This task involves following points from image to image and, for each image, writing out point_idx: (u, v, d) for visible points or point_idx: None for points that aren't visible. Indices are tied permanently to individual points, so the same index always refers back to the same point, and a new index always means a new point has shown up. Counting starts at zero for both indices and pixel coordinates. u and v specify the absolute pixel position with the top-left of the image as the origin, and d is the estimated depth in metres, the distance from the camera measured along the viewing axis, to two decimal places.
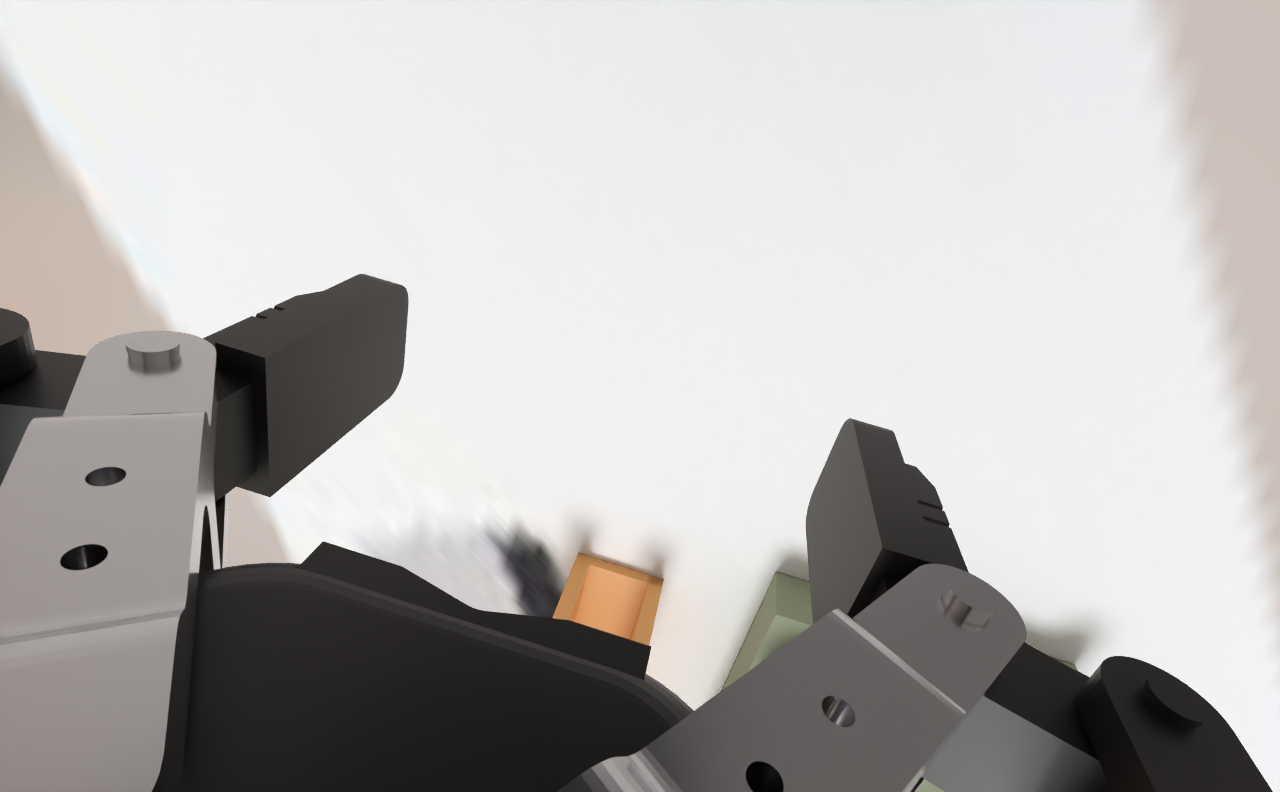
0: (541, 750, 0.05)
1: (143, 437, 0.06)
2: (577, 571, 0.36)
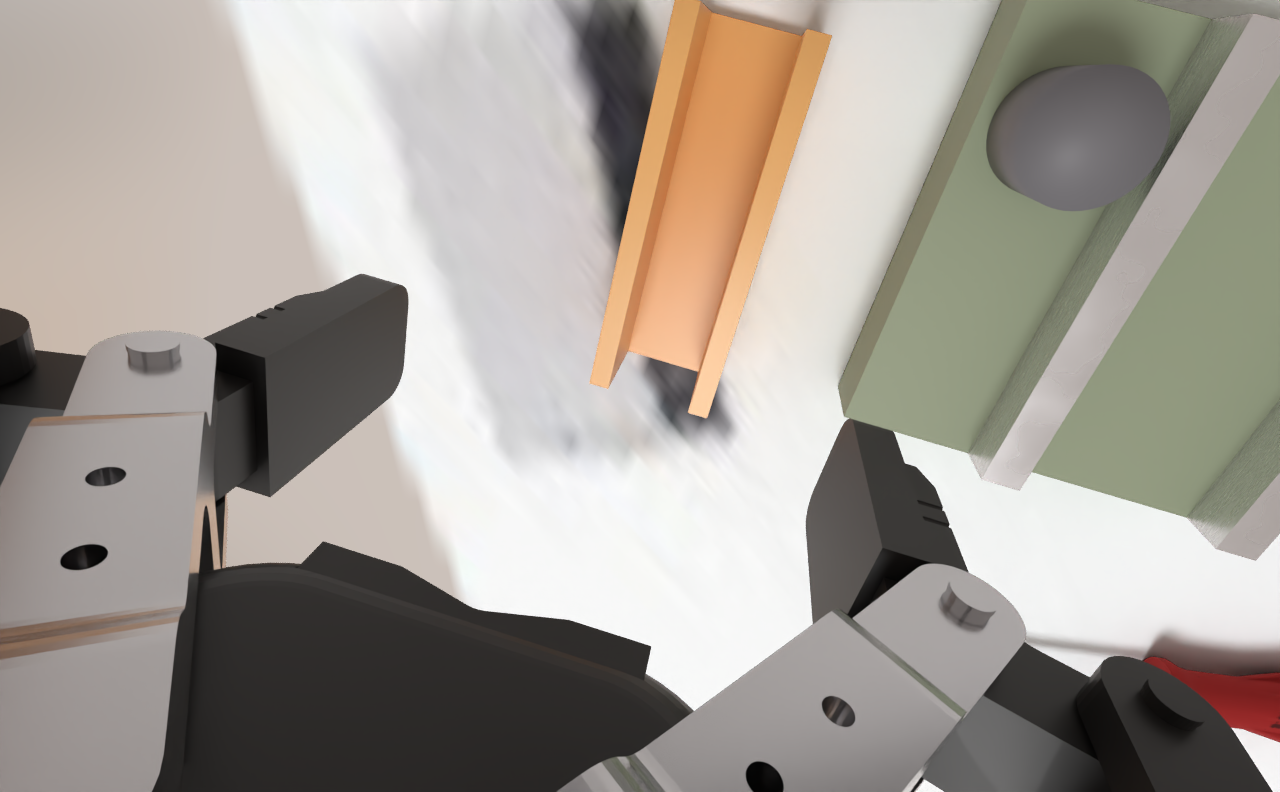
0: (542, 750, 0.05)
1: (143, 437, 0.06)
2: None
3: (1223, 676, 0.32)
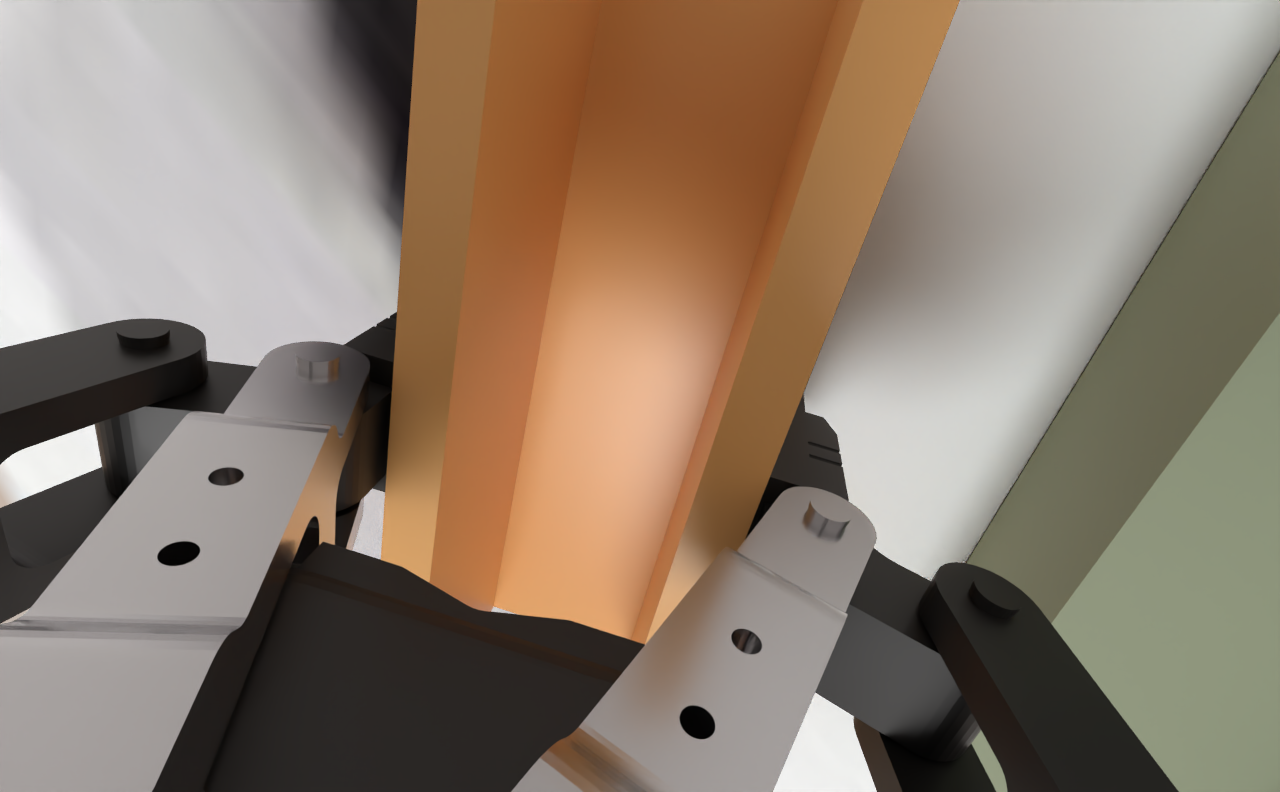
0: (541, 750, 0.05)
1: (271, 443, 0.06)
2: None
3: None
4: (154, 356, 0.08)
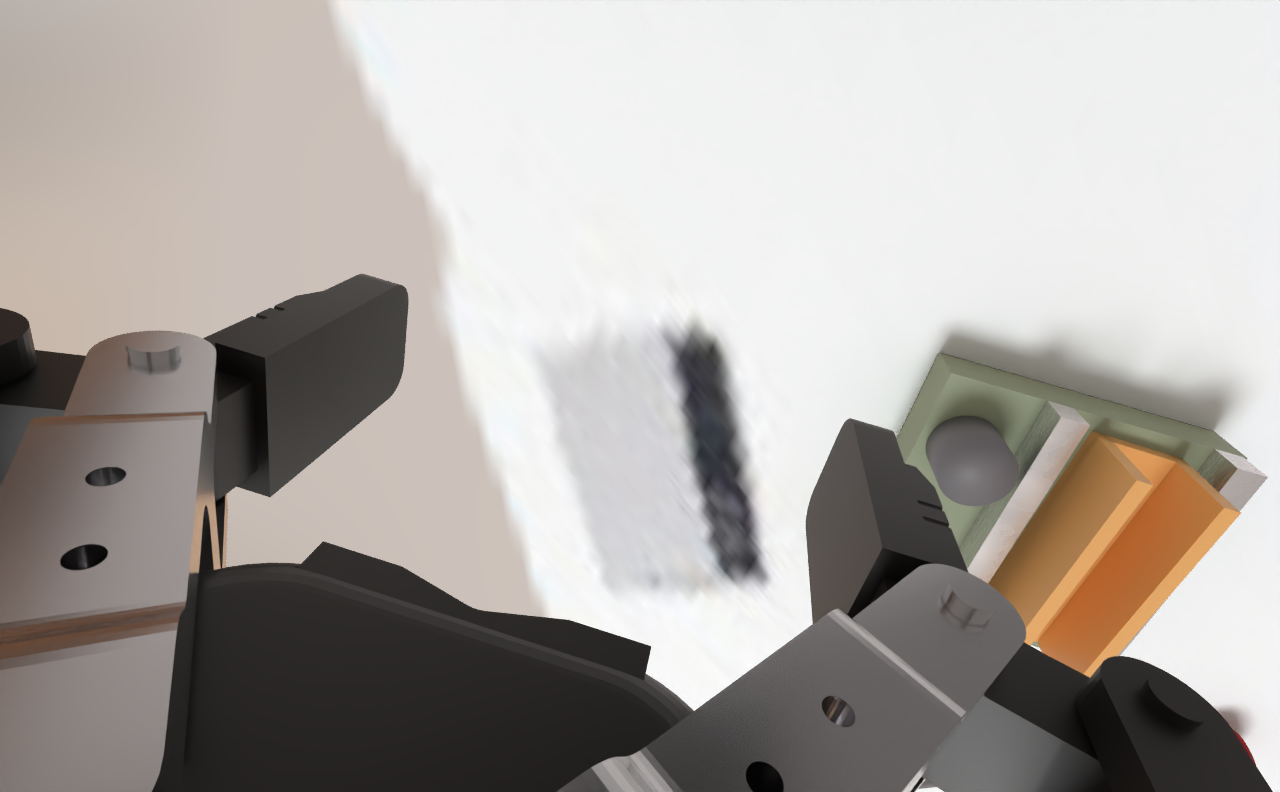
0: (541, 750, 0.05)
1: (143, 437, 0.06)
2: (1110, 446, 0.35)
3: None
4: None
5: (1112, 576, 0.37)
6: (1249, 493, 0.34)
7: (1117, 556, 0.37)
